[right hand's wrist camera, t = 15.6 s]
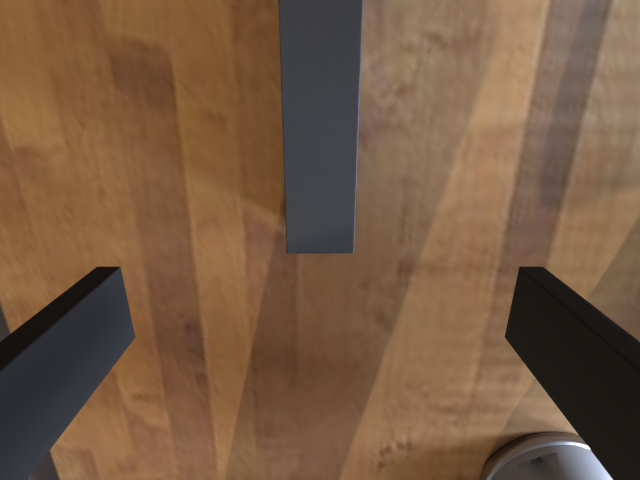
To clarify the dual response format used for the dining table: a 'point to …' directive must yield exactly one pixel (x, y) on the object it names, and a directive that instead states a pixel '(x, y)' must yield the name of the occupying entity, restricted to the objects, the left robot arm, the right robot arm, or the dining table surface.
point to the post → (320, 121)
